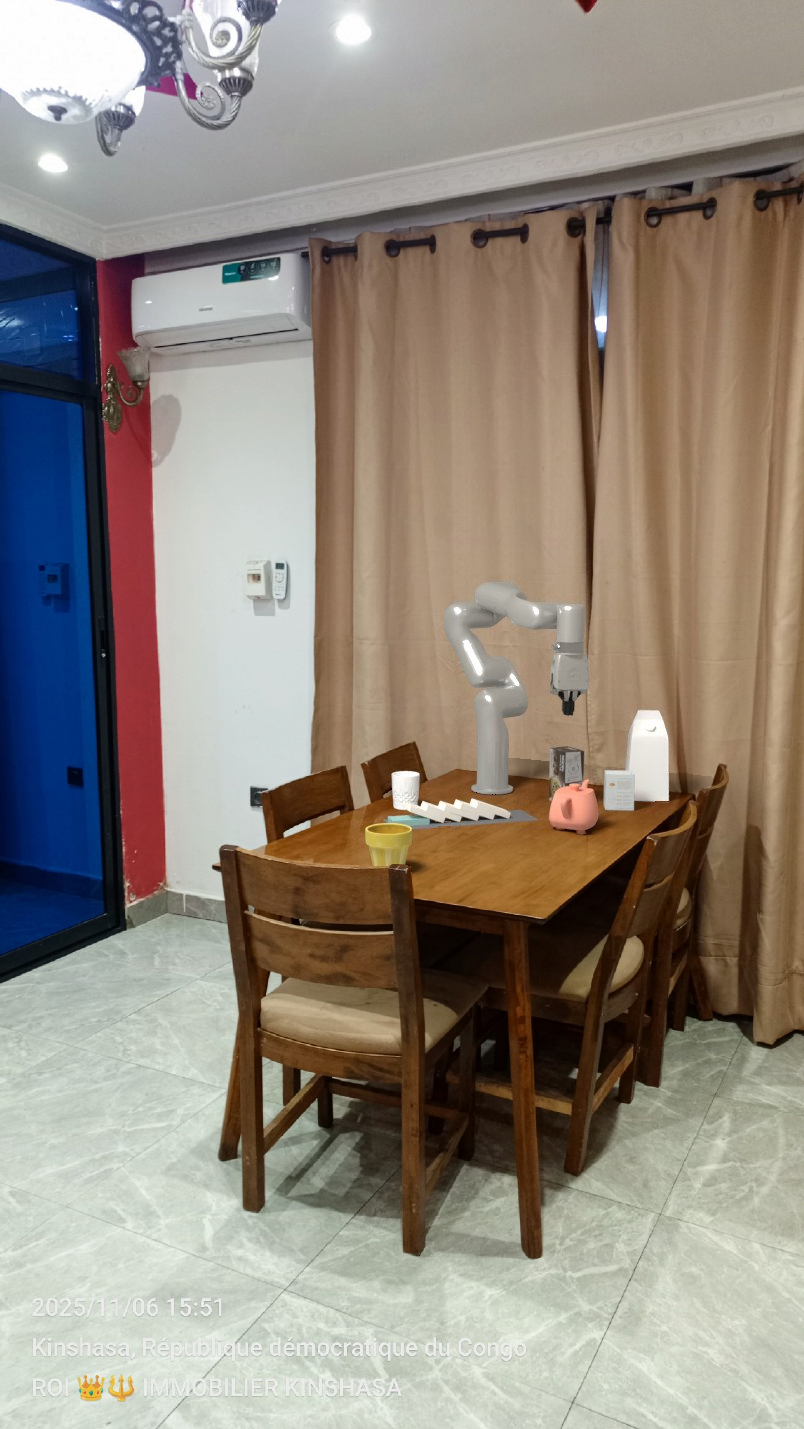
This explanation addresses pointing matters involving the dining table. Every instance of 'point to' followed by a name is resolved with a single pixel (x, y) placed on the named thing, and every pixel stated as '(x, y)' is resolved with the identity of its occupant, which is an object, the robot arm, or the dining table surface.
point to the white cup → (405, 788)
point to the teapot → (574, 808)
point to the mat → (514, 817)
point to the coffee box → (565, 768)
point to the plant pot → (388, 843)
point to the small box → (619, 790)
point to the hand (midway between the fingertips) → (568, 714)
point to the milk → (649, 756)
